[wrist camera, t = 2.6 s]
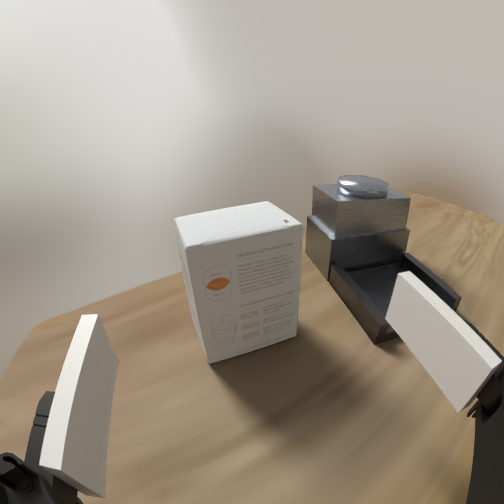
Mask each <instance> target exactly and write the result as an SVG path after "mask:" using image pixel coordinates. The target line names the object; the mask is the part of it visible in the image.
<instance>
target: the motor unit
mask: <svg viewBox="0 0 504 504" xmlns="http://www.w3.org/2000/svg"><path fill="white" fill-rule="evenodd" d="M410 199H411V198H410V197H408V196H406V195H404V194H402V193H400V192H398V191H395V190H393V189H392V188H389V187H388V183H387V182H385V181H383V180H380V179H377V178H373V177H368V176H361V175H345V176H340V177H338V184H334V185H333V184H332V185H314V186H313V198H312V216H307V230H306V250H305V252H306V254H307V255H308V256H309V257H310V259H311V260H312V261H313V263H314V264H315V265H316V266H317V268H318V269H319V270H320V272H321V273H322V274H323V276H324V277H325V278H326V279H327V280H329V283H330V285H331V286H332V287H333V289H334V290H335V291H336V293H337V294H338V295H339V297H340V298H341V299H342V301H343V302H344V303H345V305H346V306H347V307H348V309H349V310H350V311H351V313H352V314H353V316H354V317H355V318H356V320H357V321H358V322H359V324H360V325H361V327H362V328H363V329H364V331H365V332H366V333H367V335H368V336H369V338H370V339H371V340H372V342H373V343H374V344H378V343H381V342H384V341H387V340H390V339H393V338H395V337H398V336H399V335H398V334H397V333H396V331H395V330H394V329H393V328H392V326H391V325H390V324H389V323H388V322H387V320H386V319H385V317H386V314H387V311H388V308H389V304H390V301H391V297H392V294H393V290H394V287H395V283H396V279H397V275H398V273H402V272H407V271H410V272H411V273H412V274H414V275H415V276H416V277H417V278H418V279H419V280H420V281H422V282H423V283H424V284H425V285H426V286H427V287H428V288H429V289H431V290H432V291H433V292H434V293H435V294H436V295H437V296H438V297H439V298H440V299H441V300H443V301H444V302H445V303H446V304H447V305H448V306H449V307H450V308H451V309H452V310H453V311H454V312H456V310H457V307H458V305H459V303H460V300H461V298H462V297H460V296H459V295H458V294H457V293H456V292H455V291H454V290H452V289H451V288H450V287H449V286H448V285H447V284H446V283H444V282H443V281H442V280H441V279H440V278H439V277H437V276H436V275H435V274H434V273H433V272H431V271H430V270H429V269H428V268H426V267H425V266H424V265H423V264H422V263H420V262H419V261H418V260H417V259H415V258H414V257H413V256H412V255H410V254H409V253H405V252H406V247H407V242H408V237H409V232H410V230H409V229H407V228H406V224H407V218H408V212H409V206H410Z"/></svg>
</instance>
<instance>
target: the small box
mask: <svg viewBox="0 0 504 504" xmlns="http://www.w3.org/2000/svg"><path fill="white" fill-rule="evenodd" d="M174 226H175V232H176V238H177V244H178V250H179V255H180V261H181V267H182V273H183V278H184V283H185V287H186V292H187V297H188V302H189V306H190V311H191V315H192V319H193V323H194V326H195V329H196V332H197V335H198V338H199V341H200V343H201V346H202V349H203V351H204V354H205V356H206V359H207V362H208V363H209V364H211V363H215V362H218V361H221V360H225V359H228V358H232V357H235V356H238V355H241V354H245V353H248V352H251V351H254V350H257V349H260V348H263V347H266V346H269V345H272V344H275V343H278V342H281V341H284V340H286V339H289V338H292V337H295V336H296V335H297V323H298V310H299V292H300V276H301V258H302V234H303V225H302V224H301V223H300V222H298V221H297V220H296V219H294V218H293V217H291V216H290V215H288V214H286V213H285V212H284V211H282V210H281V209H279V208H277V207H276V206H275V205H273V204H271V203H270V202H268V201H265V202H259V203H253V204H248V205H242V206H236V207H230V208H224V209H219V210H214V211H208V212H203V213H198V214H193V215H188V216H182V217H177V218H175V219H174Z"/></svg>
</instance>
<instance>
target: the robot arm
mask: <svg viewBox="0 0 504 504" xmlns="http://www.w3.org/2000/svg"><path fill="white" fill-rule="evenodd" d="M385 319H386V320H387V322H388V323H389V324H390V325H391V326H392V328H393V329H394V330H395V331H396V333H397V334H398V335H399V336H400V337H401V339H402V340H403V341H404V342H405V344H406V345H407V346H408V347H409V349H410V350H411V351H412V352H413V354H414V355H415V356H416V358H417V359H418V360H419V361H420V363H421V364H422V365H423V366H424V368H425V369H426V370H427V372H428V373H429V374H430V376H431V377H432V378H433V380H434V381H435V382H436V384H437V385H438V386H439V388H440V389H441V390H442V392H443V393H444V394H445V396H446V397H447V398H448V400H449V401H450V403H451V404H452V405H453V407H454V408H455V410H456V411H457V412H458V413H459V412H461V411H462V410H464V409H465V408H466V407H468V406H469V405H470V404H471V403H472V401H473V400H474V399H475V398H476V397H477V398H478V399H479V400H478V401H477V402H476V403H475V404H474V406H473V407H472V408H471V409H470V410H469V412H468V414H467V417H469V416H470V415H471V414H472V413H473V412H474V411H475V410H476V411H475V413H474V414H473V415H472V417H473V418H476V420H475V443H474V455H473V465H472V472H471V479H470V486H469V491H468V497H467V502H466V504H504V357H503V356H502V355H501V354H500V353H499V352H498V351H497V349H496V348H495V347H494V346H493V345H492V344H491V343H490V342H489V341H488V340H487V339H485V338H484V336H483V335H482V334H481V333H479V331H478V330H477V329H476V328H475V327H474V326H473V325H472V324H471V323H469V322H468V321H466V320H464V319H463V318H462V319H461V318H460V317H459V316H458V315H457V314H456V313H455V312H454V311H453V310H452V309H451V308H450V307H449V306H448V305H447V304H446V303H445V302H444V301H443V300H441V299H440V298H439V297H438V296H437V295H436V294H435V293H434V292H433V291H432V290H431V289H429V288H428V287H427V286H426V285H425V284H424V283H423V282H422V281H420V280H419V279H418V278H417V277H416V276H415V275H414V274H412V273H411V272H410V271H407V272H402V273H398V275H397V279H396V283H395V287H394V290H393V294H392V297H391V301H390V304H389V308H388V311H387V314H386V317H385ZM118 362H119V361H118V358H117V356H116V354H115V352H114V350H113V348H112V346H111V343H110V341H109V339H108V337H107V334H106V332H105V330H104V327H103V325H102V323H101V320H100V318H99V315H98V314H93V315H82V317H81V319H80V322H79V324H78V327H77V329H76V332H75V334H74V337H73V340H72V342H71V345H70V348H69V351H68V354H67V357H66V359H65V362H64V365H63V369H62V372H61V375H60V378H59V381H58V385H57V388H56V391H55V392H49V391H46V392H45V394H44V395H43V397H42V398H41V399H40V401H39V403H38V406H37V410H36V416H35V417H34V421H33V426H32V429H31V433H30V437H29V442H28V447H27V451H26V457H25V461H24V462H23V461H22V460H21V459H19V458H18V457H17V456H15V455H14V454H13V453H7V452H6V453H3V454H1V455H0V504H83V503H82V501H81V500H80V499H79V498H78V497H77V491H80V492H81V493H83V494H85V495H88V496H94V497H100V498H105V488H106V461H107V447H108V435H109V425H110V416H111V407H112V400H113V393H114V386H115V379H116V373H117V367H118Z"/></svg>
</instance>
